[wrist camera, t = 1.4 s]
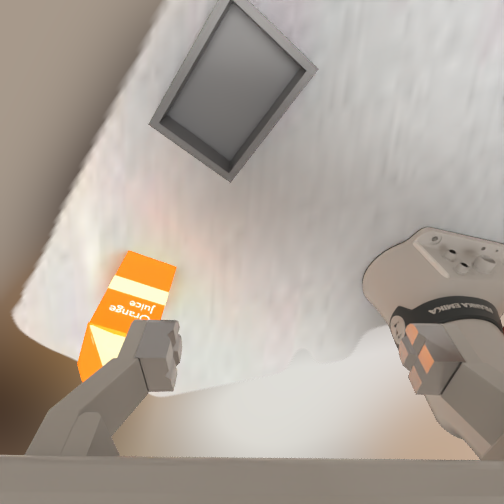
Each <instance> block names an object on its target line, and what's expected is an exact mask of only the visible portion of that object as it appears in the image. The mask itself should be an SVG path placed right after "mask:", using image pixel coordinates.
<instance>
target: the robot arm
mask: <svg viewBox="0 0 504 504" xmlns="http://www.w3.org/2000/svg"><path fill="white" fill-rule="evenodd" d="M433 237H435V238H433ZM432 238H433V239H432ZM362 288H363V293H364V295H365V297H366V298H367V300H368V301H369V302H370V303H371V304H372V305H373V306H374V307H375V308H376V309H377V310H378V312H379V313H380V314H381V316H382V317H383V318H384V320H385V321H386V323H387V324H388V326H389V327H390V330H391V333H392V336H393V339H394V341H395V344H396V345H397V348H398V350H399V355H400V359H401V362H402V364H403V366H404V367H406V368H407V369H408V370H409V371H410V373H409V375H408V378H409V380H410V382H411V384H412V386H413V389H414V391H415V393H416V394H421V395H424V396H425V398H426V400H427V402H428V404H429V406H430V408H431V410H432V412H433V414H434V416H435V418H436V420H437V422H438V423H439V424H440V425H441V427H443V428H444V429H445V430H446V431H447V432H449V433H450V434H452V435H454V436H456V437H458V438H461V439H463V440H464V441H465V442H466V443H467V444H468V445H469V446H470V448H471V449H472V450H473V451H474V452H475V454H476V455H477V456H478V457H479V459H480V460H407V459H406V460H405V459H321V458H318V459H317V458H313V459H312V458H228V457H227V458H226V457H221V458H220V457H136V456H120V455H119V452H118V450H117V448H116V446H115V444H114V442H113V440H112V438H111V436H112V435H113V434H114V433H115V432H116V431H117V429H118V428H119V427H120V426H121V425H122V424H123V422H124V421H125V420H126V419H127V418H128V416H129V415H130V414H131V413H132V412H133V411H134V409H135V408H136V407H137V406H138V405H139V403H141V401H142V400H143V399H144V398H145V397H146V395H147V394H148V392H160V391H173V390H174V386H175V381H176V377H177V370H176V366H177V365H178V364H179V363H180V359H181V352H182V339H181V336H180V335H179V334H178V332H179V328H180V327H179V322H178V321H176V320H151V319H149V320H146V319H135V320H134V321H133V322H132V323H131V325H130V328H129V330H128V333H127V335H126V337H125V340H124V342H123V345H122V347H121V350H120V352H119V354H118V357H117V358H112V359H111V360H110V361H108V362H107V363H106V364H105V365H104V366H102V367H101V368H100V369H99V370H97V371H96V372H95V373H94V374H93V375H91V376H90V377H89V378H88V379H86V380H85V381H84V382H83V383H82V384H80V385H79V386H78V387H77V388H75V389H74V390H73V391H72V392H71V393H69V394H68V395H67V396H66V397H64V398H63V399H62V400H61V401H60V402H58V403H57V404H56V405H55V406H53V407H52V408H51V409H50V410H49V411H48V413H47V414H46V416H45V418H44V420H43V422H42V424H41V426H40V428H39V429H38V431H37V433H36V435H35V437H34V439H33V440H32V442H31V444H30V446H29V448H28V450H27V452H26V453H25V455H0V504H504V327H502V324H501V320H500V317H501V316H502V315H503V313H504V244H501V243H497V242H493V241H488V240H484V239H479V238H475V237H471V236H466V235H462V234H457V233H453V232H449V231H444V230H440V229H435V228H431V227H426V228H423V229H421V230H420V231H418V232H417V233H416V234H414V235H413V236H412V237H411V238H410V239H409V240H407V241H406V242H404V243H402V244H399V245H397V246H395V247H393V248H391V249H389V250H387V251H386V252H384V253H383V254H381V255H380V256H379V257H378V258H376V259H375V260H374V261H373V263H372V264H371V265H370V266H369V268H368V269H367V271H366V273H365V275H364V278H363V284H362Z"/></svg>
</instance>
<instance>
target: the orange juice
mask: <svg viewBox="0 0 504 504" xmlns="http://www.w3.org/2000/svg"><path fill="white" fill-rule="evenodd" d="M175 270H176V267H175V266H172V265H169V264H167V263H164V262H161V261H158V260H155V259H152V258H149V257H146V256H143V255H141V254H138V253H135V252H132V251H128V253H127V255H126V256H125V258H124V260H123V262H122V264H121V266H120V267H119V269H118V271H117V273H116V275H115V276H114V278H113V279H112V281H111V283H110V285H109V287H108V289H107V291H106V293H105V295H104V297H103V298H102V300H101V302H100V304H99V306H98V308H97V309H96V311H95V313H94V315H93V317H92V319H91V320H90V322H88V325H87V329H86V333H85V337H84V340H83V344H82V348H81V352H80V356H79V360H78V364H77V365H78V369H79V372H80V376H81V380H82V383H83V382H84V381H85V380H86V379H88V378H89V377H90V376H91V375H93V374H94V373H95V372H96V371H97V370H99V369H100V368H101V367H102V366H104V365H105V364H106V363H107V362H108V361H110V360H111V359H112V358H117V357H118V354H119V352H120V350H121V347H122V345H123V342H124V340H125V337H126V335H127V333H128V330H129V328H130V325H131V323H132V322H133V321H134V320H135V319H146V320H149V319H151V320H161V316H162V313H163V310H164V307H165V304H166V301H167V298H168V294H169V290H170V287H171V284H172V280H173V277H174V274H175Z"/></svg>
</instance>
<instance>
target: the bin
mask: <svg viewBox="0 0 504 504" xmlns="http://www.w3.org/2000/svg"><path fill="white" fill-rule="evenodd" d="M317 70H318V68H317V67H316V66H315V65H314V64H313V63H312V62H311V61H310V60H309V59H308V58H307V57H306V56H305V55H304V54H303V53H301V52H300V51H299V50H298V49H297V48H296V47H295V46H294V45H293V44H292V43H291V42H290V41H289V40H288V39H287V38H286V37H285V36H284V35H283V34H282V33H281V32H280V31H279V30H278V29H277V28H276V27H275V26H274V25H273V24H272V23H271V22H270V21H269V20H268V19H267V18H266V17H265V16H264V15H263V14H262V13H261V12H260V11H258V10H257V9H256V8H255V7H254V6H253V5H252V4H251V3H250V2H249V1H248V0H218V2H217V3H216V5H215V7H214V9H213V11H212V12H211V14H210V16H209V18H208V19H207V21H206V23H205V25H204V27H203V28H202V30H201V32H200V34H199V35H198V37H197V39H196V41H195V43H194V44H193V46H192V48H191V50H190V52H189V53H188V55H187V57H186V59H185V60H184V62H183V64H182V66H181V68H180V69H179V71H178V73H177V75H176V76H175V78H174V80H173V82H172V84H171V85H170V87H169V89H168V91H167V92H166V94H165V96H164V98H163V100H162V101H161V103H160V105H159V107H158V108H157V110H156V112H155V114H154V116H153V117H152V119H151V121H150V123H149V124H148V125H150V126H151V127H153V128H154V129H156V130H157V131H158V132H160V133H161V134H163V135H164V136H165V137H167V138H168V139H170V140H171V141H172V142H174V143H175V144H177V145H178V146H180V147H181V148H182V149H184V150H185V151H187V152H188V153H189V154H191V155H192V156H194V157H195V158H197V159H198V160H199V161H201V162H202V163H204V164H205V165H206V166H208V167H209V168H211V169H212V170H213V171H215V172H216V173H218V174H219V175H221V176H222V177H223V178H225V179H226V180H228V181H229V182H230V183H231V181H232V180H233V179H234V177H235V176H236V175H237V174H238V172H239V171H240V170H241V168H242V167H243V166H244V165H245V163H246V162H247V161H248V159H249V158H250V157H251V156H252V154H253V153H254V152H255V150H256V149H257V148H258V146H259V145H260V144H261V143H262V141H263V140H264V139H265V137H266V136H267V135H268V134H269V132H270V131H271V130H272V128H273V127H274V126H275V125H276V123H277V122H278V121H279V119H280V118H281V117H282V116H283V114H284V113H285V112H286V110H287V109H288V108H289V106H290V105H291V104H292V103H293V101H294V100H295V99H296V97H297V96H298V95H299V94H300V92H301V91H302V90H303V88H304V87H305V86H306V85H307V83H308V82H309V81H310V79H311V78H312V77H313V75H314V74H315V73H316V72H317Z"/></svg>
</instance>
